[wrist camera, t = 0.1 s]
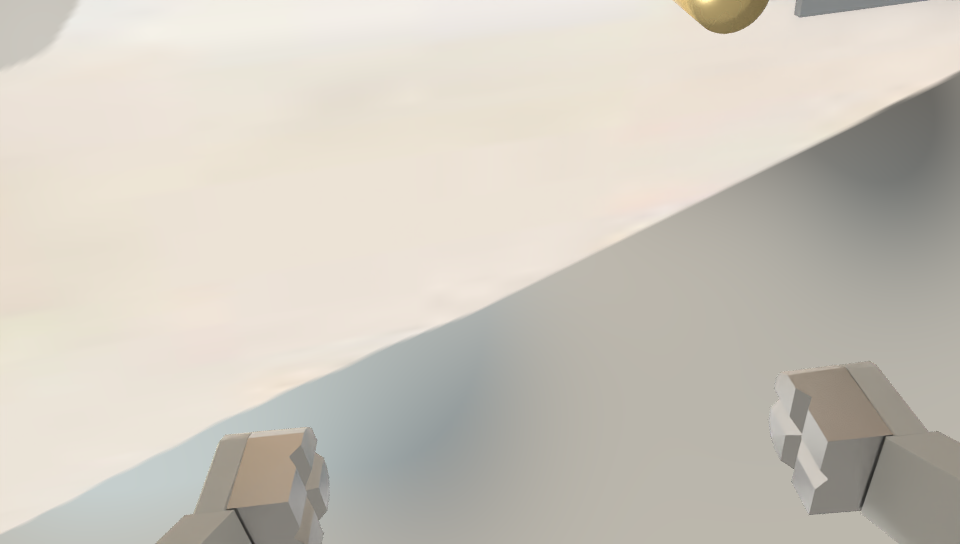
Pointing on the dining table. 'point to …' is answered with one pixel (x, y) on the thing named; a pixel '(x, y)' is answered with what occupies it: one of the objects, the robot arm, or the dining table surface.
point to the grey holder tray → (840, 5)
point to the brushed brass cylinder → (723, 13)
